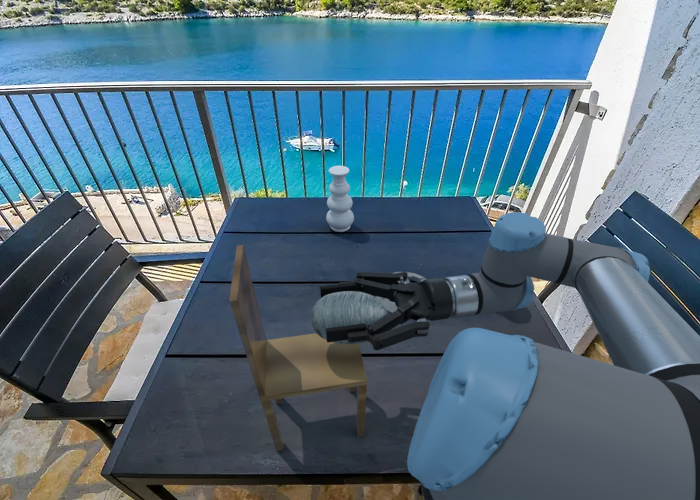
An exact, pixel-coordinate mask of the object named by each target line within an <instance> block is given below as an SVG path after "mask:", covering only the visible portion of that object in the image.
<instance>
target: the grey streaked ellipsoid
mask: <svg viewBox="0 0 700 500" xmlns="http://www.w3.org/2000/svg"><path fill="white" fill-rule="evenodd" d="M386 316H388V311H387V310H386V308H385V307H384V305H383V304H382V303H381V302H380V301H379V300H378V299H377V298H376V296H373V295H370V294H367V293H363V292H356V291H343V292H335V293H331V294H328V295H325V296H324V297H322V298H321V297H320V298H319V299H318V300H317V301H316V302H315V304H314V305H313V307H312V309H311V313H310V320H311V326H312V328H313V330H314V332H315V333H317V334H318V335H319V336H320V337H322V338H323V339H325V340H327V338H326V328H333V327H341V326H348V325H356V324H364V323H365V324H366V329H367V326H368V324H369V326H371V325H373V324H375V323H376V322H378V321H380V320H381V319H383V318H385V317H386ZM367 342H369V341H361V342H353V343H350V342H348V340H342V341H335V342H334V343H341V344H359V345H360V344H365V343H367Z"/></svg>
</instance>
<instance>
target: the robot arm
mask: <svg viewBox="0 0 700 500" xmlns="http://www.w3.org/2000/svg"><path fill="white" fill-rule="evenodd" d="M546 232H547V228H546V225H545V223H544V222H543V221H542V220H541V219H539V218H538V217H536V216H531V215H530V214H529V213H526V212H521V211H513V212H511V211H510V212H507V213H504V214H502V215H500V216H499V217H498V218H497V220H496V221H495V223H494V226H493V229H492V231H491V233H490V235H489V238H488V242H487V246H486V250H485V253H484V256H483V259H482V263H481V266H480V269H479V271H478V272H473V273H468V274H460V275H452V276H445V277H444V278H443V277H433V278H426V279H425V280H423V281H422V282H420V283H418V282H413V281H412V282H411V280H409V279H408V278H407V276H408V273H407V272H408V271H399V272H400V273H395V272H373V271H372V272H371V271H357V272H356V276H355V279H353V280H348V281H340V282H338V283H337V284H330V285H322V286H320V287H319V290H320V291H319V292H320V298H322V297H324V296H325V295H328V294H331V293H335V292H343V291H356V292H363V293H367V294H370V295H372V296H374V297H376V296H377V297H382V298H386V299H389V301H391V302H395V305H396V306H397V308H398V309H397V310H396V311H395V312H393V313H389V314H387V316H386V317H385V318H383V319H381V320H380V321H378V322H376V323H375V324H373V325H371V326H369V324H368V326H367V329H366V324H365V323H364V324H356V325H348V326H341V327H333V328H326V338H327V343H328V342H335V341H342V340H348V342H350V343H353V342H361V341H368V342H369V343H370V344H371V346H372V349H373V350H374V351H380V350H383V349H385V348H389V347H391V346H394V345H397V344H399V343H402V342H405V341H407V340H411V339H413V338H419V337H421V338H422V337H428V335H429V332H430V326H431V324H430V322H429V321H431V322H433V321H434V322H435V321H442V320H449V318H451V319H458V318H465V317H471V316H472V317H473V316H477V315H482V314H492V313H502V312H503V313H505V312H506V313H508V312H509V313H510V312H512V311H515V310H519V309H524V308H528V306H530V305H531V304H532V303H533V301H534V298H535V294H534V291H535V284H534V281H533V279H538V280H541V281H546V282H550V283H554V284H558V285H562V286H566V287H569V288H573V289H576V291H577V293H578V295H579V296H580V298H581V300H582V303H583V305H584V306H585V309H586V311H587V313H588V315H589V317H590V319H591V321H592V323H593V325H594V327H595V330H596V331H597V333H598V336H599V337H600V340H601V342H602V344H603V346H604V347H605V348H604V349H605V350H606V352H607V354H608V356H609V358H610V360H611V362H612V364H611V363H608V362H604V361H600V360H597V359H594V358H590V357H588V356H584V355H581V354H577V353H573V352H571V351H567V350H563V349H560V348H557V347H553V346H549V345H546V344H543V343H540V342H536V341H534V340H533V339H532V338H531V337H527V336H525V335H520V334H512V335H511V334H507V333H503V332H498V331H494V330H490V329H486V328H481V327H469V328H468V327H467V328H465V329H463V330H461V331H459V332H458V333H456V335H455V336H454V337H453V338H452V339H451V340H450V342H449V344H448V345H447V347H446V349H445V351H444V352H443V355H442V357H441V359H440V360H439V363H438V365H437V368H436V370H435V372H434V375H433V377H432V380H431V382H430V385H429V387H428V391H427V394H426V395H427V396H426V398H425V400H424V402H423V404H422V407H421V410H420V412H419V415H418V418H417V421H416V423H415V427H414V431H413V435H412V438H411V440H410V444H409V448H408V453H407V460H406V466H407V470H408V472H409V474H410V475H411V476H412V477H414V478H415V479H416V480H418V481H419V483H420V484H421V485H420V486H421V496H422V500H700V335H699V334H698V333H697V332H696V331H695V329H693V328H692V326H690V325H689V323H688V322H687V321H686V320H684V318H683V317H682V316H681V315H680V314H679V313H678V311H676V310H675V309H674V308H673V306H671V305H670V304H669V303H668V301H666V300H665V299H664V298H663V296H662V295H660V294H659V292H658V291H656V289H655V288H654V287H653V286H652V285H651V284H650V283H649V280H650V274H651V268H650V266H649V264H650V263H649V260H648V258H647V256H645V255H644V254H642V253H639V252H636V251H633V250H628V249H625V248H623V247H619V246H609V245H605V244H599V243H593V242H590V241H585V240H579V239H573V238H570V237H566V236H562V235H561V236H560V235H556V234H551V233H546ZM532 278H533V279H532ZM410 320H412V321H413V322H410V323H407V322H409V321H410ZM427 320H428V321H427ZM405 323H407V324H405ZM399 325H401V326H399Z"/></svg>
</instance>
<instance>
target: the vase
mask: <svg viewBox="0 0 700 500" xmlns="http://www.w3.org/2000/svg"><path fill="white" fill-rule="evenodd" d="M328 172H329V173H328V174H330V175H331V176H332V181H331V182H330V184H329V186H328V191H329V192H330V194H331V195H330V196H328V198H327V200H326V207H327V208H328V209H329V210H328V211H327V213H326V216H325V221H326V223H327V224H328V225H329V228H330V229H331V230H332V231H333V232H336V233H343V232H346V231H348V230H350V228H351V226H352V225H353V223H354V221H355V214H354V213H353V211H352V210H351V209H352V207H353V203H354V202H353V201H354V200H353V199H352V197H351V196H350V195H349V193H350V191H351V186H350V184H349V182H348V181H347V180H346V177H347V175H348V174H349V173H350V168H349V167H347V166H345V165H334V166H331V167H329V169H328Z"/></svg>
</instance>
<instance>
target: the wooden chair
mask: <svg viewBox="0 0 700 500" xmlns="http://www.w3.org/2000/svg"><path fill="white" fill-rule="evenodd" d="M247 258H248V257H247V255H246V250H245V246H244V244H238V245H236V250H235V256H234V264H233V270H232V278H231V284H230V285H231V286H230V292H229V300H228V302H229V305H230V308H231V311H232V314H233V317H234V320H235V323H236V327H237V330H238V334H239V336H240V340H241V343H242V346H243V349H244V353H245V356H246V358H247V363H248V365H249V368H250V372H251V375H252V378H253V381H254V384H255V387H256V391H257V393H258V397H259V400H260V403H261V406H262V410H263V414H264V416H265V419H266V423H267V425H268V426H267V427H268V429H269V432H270V435H271V438H272V442H273V445H274V448H275V451H276V452H279V451H284V440H283V437H282V433H281V429H280V425H279V421H278V418H277V415H276V411H275V408H274V407H275V406H274V404H273V400H274V401H275V404H276V405H277V404H283V401H284V400H283V399H286V398H292V397H299V396H304V395H312V394H317V393H323V392H330V391H335V390H343V389H348V392H349V393H353V392H356V429H355V430H356V436H357V437H363V436H365V429H366V428H365V427H366V411H367V409H366V408H367V394H368V393H367V392H368V391H367V390H368V377H367V373H366V369H365V363H364V360H363V355H362V352H361V348H360V343H359V344H341V343H334V342H328V343H327V340H325V339H323V338H322V337H320V336H319V335H318V334H317V333H316V332H314V333H308V334H300V335H293V336H286V337H278V338H270V339H267V337H266V333H265V328H264V325H263V320H262V316H261V312H260V308H259V304H258V299H257V296H256V295H257V294H256V291H255V287H254V284H253V280H252V274H251V270H250V267H249V262H248V259H247Z"/></svg>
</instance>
